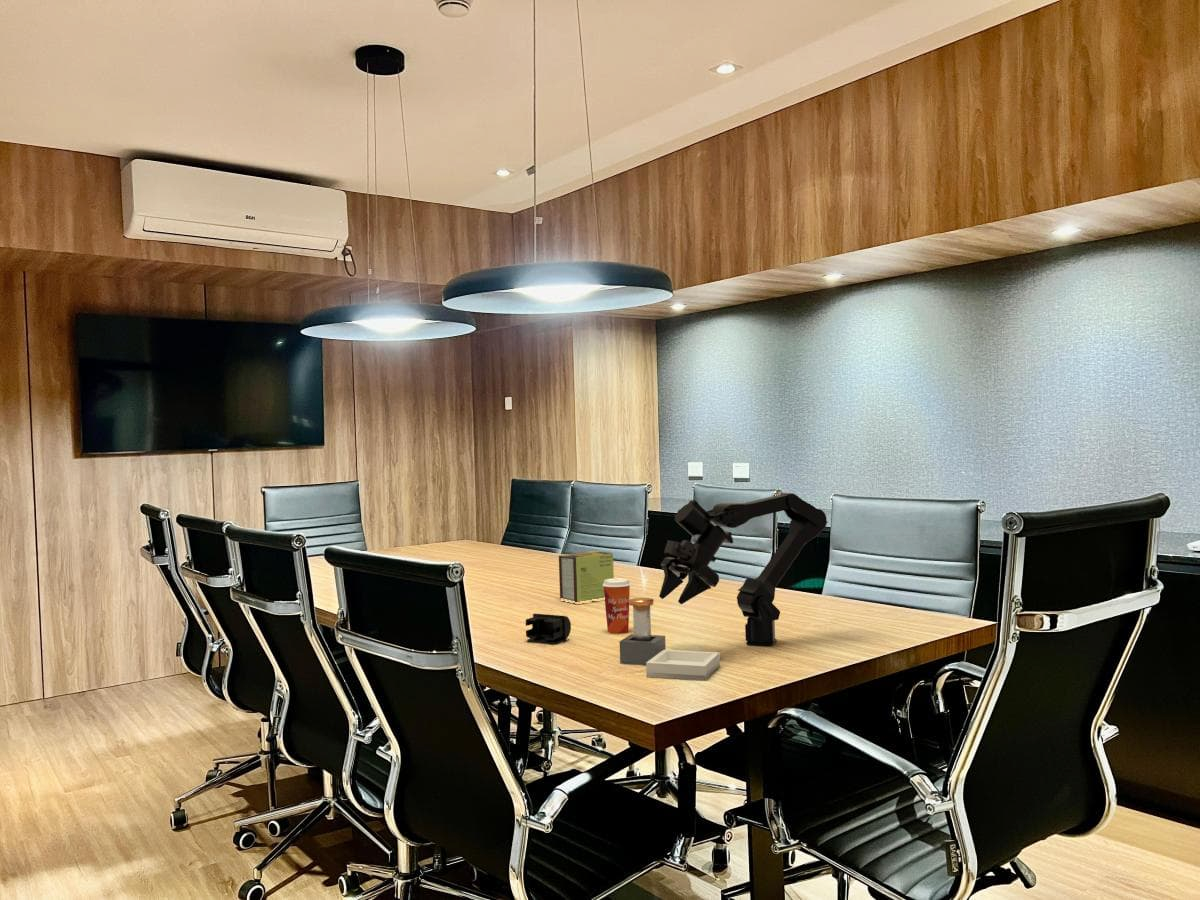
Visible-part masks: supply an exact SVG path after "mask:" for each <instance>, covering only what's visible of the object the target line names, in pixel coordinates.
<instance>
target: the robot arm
mask: <svg viewBox="0 0 1200 900" xmlns="http://www.w3.org/2000/svg"><path fill="white" fill-rule="evenodd" d="M782 511H783V512H784V514H785V515H786V517H787V518H789V519H790V522H789V531H788V534H787V535H786V537H785V538H784V540H783V541H782V542H781V544H780V545H779V546H778V549H777V550H776V551H775V552H774V553H773V556H772V557H771V558H770V559H769V561H768V562H767V564H766V565H765V567H764V568H763V569H762V571H761V573H760V574H759V576H757V577H756V578H749V577H747V578H746V579H745V580H744V582H743V584H742V586H741V587H740V588H738V589H737V591H738V594H737V595H736V600H737V601H736V603H737V605H738V607H739V609H740V610H741V613H742V615H743V617H745V618H746V619H747V620H746V623H745V626H744V627H745V628H744V629H745V631H744V632H745V641H746V645H749V646H750V645H751V646H770V647H772V646H774V644H775V643H776V642H777V640H778V639H777V638H776V629H775V628H776V627H775V626H776V625H775V621H778V620H779V618H780V614H781V611H780V609H778V608H777V606H776V605H775V604H773V603H774V600H775V595H776V587H777V586H778V584H779V583H780V581H781V580H782V579H783V577H784V576H785V574H786V572H787V571H788V570H789V568H791V566H792V563H794V561H795V560H796V558H797V557H798V556H799V554H800V552H801V551H802V549H803V548H804V546H805V545H806V544H807V543H808V542H810V541H812V540H813V539H815V538H816V537H818V536H819V535H820V533H821V532H822V531H824V529H825V528H826V527H827V524H828V520H827V515H826V513H825V511H823V510H822V509H819V508H816V507H815V506H814V505H813V504H811V503H809V502H807V501H805V500H803V499H801V497H800V496H798V495H797V494H796V493H792V492H782V493H780V494H777V495H774V496H773V495H771V496H768V497H764V498H760V499H755V500H751V501H746V502H742V503H741V502H730V503H729V502H726V503H723V502H722V503H717V504H715V505H714V506H713V508H712V509H709V510H707V511H706V510H705V509H704V508H703V507H702V506H701V505H700V504H699V502H698V501H697V500H694V499H692V500H689V502H688V503H686V504H684V505H683V506H682V507H681V508H680V509H678V510H677V512H676V513H675V516H674V521H675V522H676V523H677V524H678V525H679V526H680V527H681V528H683V530H685V531H686V532H687V533H688V534H690V536H694V537H695V536H698V537H697V538H696V540H694V541H693V542H694V543H693V542H692V541H690V540H685V539H683V540H682V541H681V542H679V541H673V540H667V543H666V545H665V549H664V552H663V553H664V554H666V555H671V556H675V557H677V558H674V557H669V556H667V557H664V558H663V560H661V563H660V566H661V569H662V570H663V574H664V577H663V581H662V585H661V588H660V591H659V598H660V599H661V600H664V599H665V598H666V597H667V596H669V595H670V594H671V593H672V592H673V591H674V590H676V589H677V588H678V587H679V586H680V585H682V584H683V583H684V580H685V579H686V578H687V576H688V578H687V579H688V581H687V583H686V585H685V586H684V588H683V591H682V592H681V593H680V597H679V598H678V601H677V602H678V604H679V605H683V604H685V603H687V602H688V601H690V600H691V599H694V598H695V597H697V596H698V595H700V594H701V593H703V592H705V591H707V590H710V589H711V588H716V587H717V585H718V584H719V582H720V575H719V574H718V573H717V572H716V571H715V570H713V569H712V568H711V567H710V566H709V565H710V563H715V561H717V558H716V557H715V555H716V554H717V552H718V550H719V549H720V548H721V546H722V545H723V543H724V544H725V543H726V544H733V543H734V540H733V539H734V538H733V536H732V532H731V531H725V529H723V528H729V529H733V528H734V529H735V528H738V527H740V526H742V525H744V524H746V523H748V522H749V521H750V520H751V519H754V518H757V517H761V516H765V515H771V514H775V513H778V512H782ZM712 522H713V523H712Z"/></svg>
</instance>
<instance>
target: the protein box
mask: <svg viewBox="0 0 1200 900" xmlns="http://www.w3.org/2000/svg"><path fill="white" fill-rule="evenodd" d="M558 570H559V572H558V575H559V580H558V581H559V599H560V598H563V599H567V600H571V601H575V602H580V601H586V600H592V599H599V598H604V597H605V595H604V586H603V584H604V580H606V579H614V576H615V575H614V574H615V573H614V553H613V552H607V551H606V552H605V551H598V550H591V551H585V552H574V553H566V554H559V555H558Z"/></svg>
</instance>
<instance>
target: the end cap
mask: <svg viewBox="0 0 1200 900" xmlns="http://www.w3.org/2000/svg"><path fill="white" fill-rule="evenodd" d="M530 625H531V626H532V627H531V628H530V629H526V630H525V636H526V638H528V639H526V642H527V643H532V644H543V645H554V646H556V645H560V644H562V643H564V642H565V641H566V640H567V639H568V637H569V636H570V634H571V630H572V622H571V620H570V618H569V616H566V615H558V614H546V613H545V614H543V613H532V617H529V618H526V619H525V626H526V627H527V626H530Z"/></svg>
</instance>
